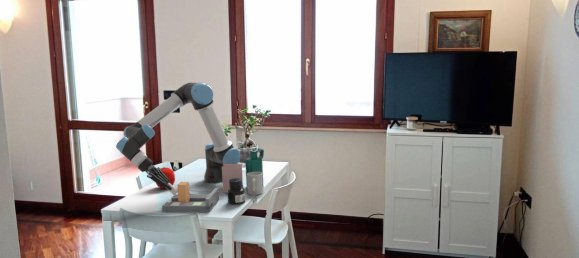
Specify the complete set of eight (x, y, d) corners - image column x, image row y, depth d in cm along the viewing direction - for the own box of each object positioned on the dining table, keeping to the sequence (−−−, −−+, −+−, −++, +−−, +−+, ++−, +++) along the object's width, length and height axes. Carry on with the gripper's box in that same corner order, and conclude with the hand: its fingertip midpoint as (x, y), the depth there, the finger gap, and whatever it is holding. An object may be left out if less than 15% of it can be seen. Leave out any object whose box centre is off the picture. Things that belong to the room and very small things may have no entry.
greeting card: (243, 189, 263) (242, 163, 260) (238, 193, 256) (237, 166, 253) (225, 188, 266) (223, 163, 264) (219, 192, 259) (218, 166, 257)
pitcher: (251, 189, 262) (249, 151, 258) (245, 186, 269) (243, 149, 266) (266, 187, 266) (265, 149, 263) (260, 183, 274) (259, 147, 270)
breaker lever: (178, 204, 233) (177, 184, 232) (182, 200, 239) (180, 181, 238) (186, 204, 233) (184, 184, 232) (189, 200, 239) (188, 181, 237)
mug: (248, 190, 260) (247, 171, 258) (263, 190, 260) (262, 171, 258) (246, 197, 248) (245, 177, 247) (261, 196, 248) (260, 176, 246)
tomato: (167, 184, 279) (165, 164, 277) (180, 186, 273) (178, 166, 271) (150, 189, 269) (148, 168, 267) (163, 192, 263) (161, 170, 261)
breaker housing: (162, 212, 227) (161, 199, 226) (175, 199, 247) (174, 188, 246) (209, 212, 225) (209, 199, 224) (219, 199, 245) (218, 187, 244)
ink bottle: (239, 205, 233) (238, 182, 232) (224, 204, 237) (223, 181, 235) (248, 200, 242) (247, 178, 241) (233, 198, 246) (232, 177, 244)
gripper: (143, 164, 242) (176, 194, 243) (132, 170, 229) (167, 202, 230) (152, 154, 241) (185, 184, 242) (141, 159, 228) (177, 192, 229)
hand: (176, 193), depth 236 cm, fingers closed
